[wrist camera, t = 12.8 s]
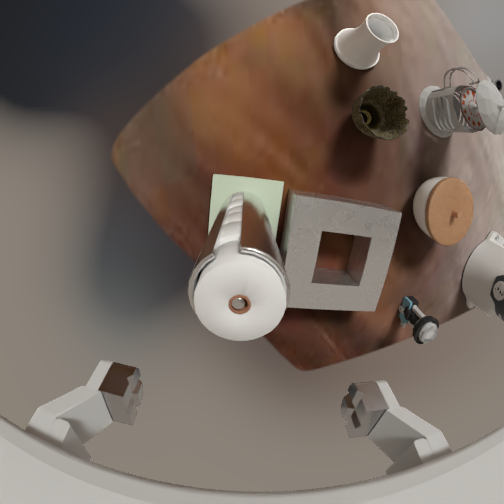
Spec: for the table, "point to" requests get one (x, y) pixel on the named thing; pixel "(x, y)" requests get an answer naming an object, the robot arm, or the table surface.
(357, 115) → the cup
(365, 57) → the vase
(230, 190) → the pad
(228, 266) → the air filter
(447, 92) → the french press
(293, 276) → the bore block
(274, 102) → the table surface
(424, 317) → the push button
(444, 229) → the lidded jar
